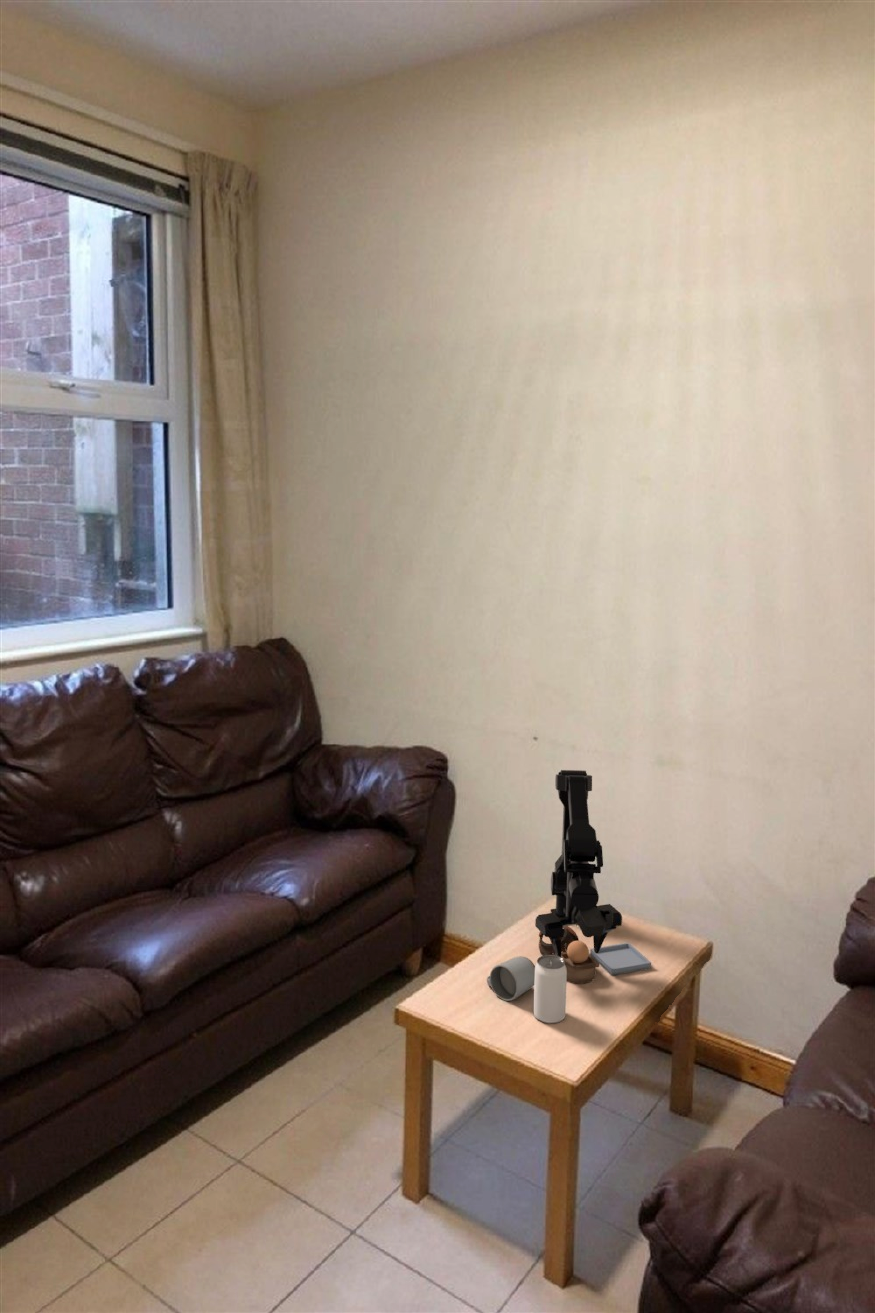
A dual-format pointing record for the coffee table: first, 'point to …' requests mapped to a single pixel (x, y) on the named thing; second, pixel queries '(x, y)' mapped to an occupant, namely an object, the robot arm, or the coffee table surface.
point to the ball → (577, 951)
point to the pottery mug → (567, 939)
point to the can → (550, 989)
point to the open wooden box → (580, 969)
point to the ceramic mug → (512, 978)
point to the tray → (620, 959)
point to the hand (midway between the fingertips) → (577, 956)
